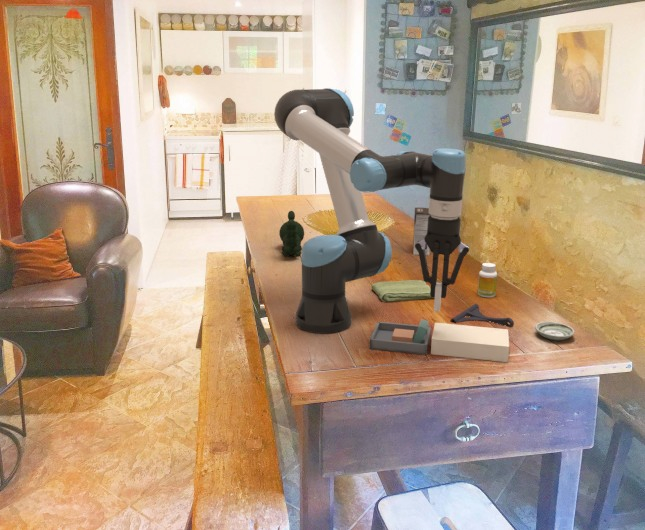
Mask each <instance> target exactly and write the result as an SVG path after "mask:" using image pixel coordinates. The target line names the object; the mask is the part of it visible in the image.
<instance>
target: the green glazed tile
mask: <svg viewBox="0 0 645 530" xmlns="http://www.w3.org/2000/svg"><path fill="white" fill-rule="evenodd" d="M429 323H430V322H429V321H428V320H425V319H424V318H421V319H420V322H419V324H418V325H419V326H418V328H417V330H416V332H415V335H414V338H413V342H412V343H420V344H421V342H422V340H423V338H424V336H425V334H426V331H427V329H428V326H429Z"/></svg>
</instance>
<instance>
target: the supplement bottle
mask: <svg viewBox="0 0 645 530" xmlns="http://www.w3.org/2000/svg"><path fill="white" fill-rule="evenodd" d="M496 269H497V268H496V264H495V263H493V262H484V263H482V264H481V270H480V271H479V273H478V283H477V295H478V296H479V297H481V298H482V297H483V298H494V297H495V296H496V294H497V284H498V283H497V282H498V273H497V271H496Z"/></svg>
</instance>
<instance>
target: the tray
mask: <svg viewBox="0 0 645 530" xmlns="http://www.w3.org/2000/svg"><path fill="white" fill-rule="evenodd" d="M418 326H419V324H407V323H396V322H387V321H376V324H375V326H374V329H373V331H372V333H371V335H370V337H369V343H368V344H369V346H368V349H369V350H376V351H384V352H385V351H386V352H396V353H406V354H415V355H422V356H423V355H425V356H427V353H428V349H429V346H430V341H431V337H432V336H431V335H432V333H431V331H432V326H430V325H428V329H427V331H426V334H425V336H424V338H423V340H422V342H421V344H420V343H410V342H400V341H392V335H393V332H394V330H395V328H396V329H406V330H414V335H415V332H416V330H417V328H418Z"/></svg>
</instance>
